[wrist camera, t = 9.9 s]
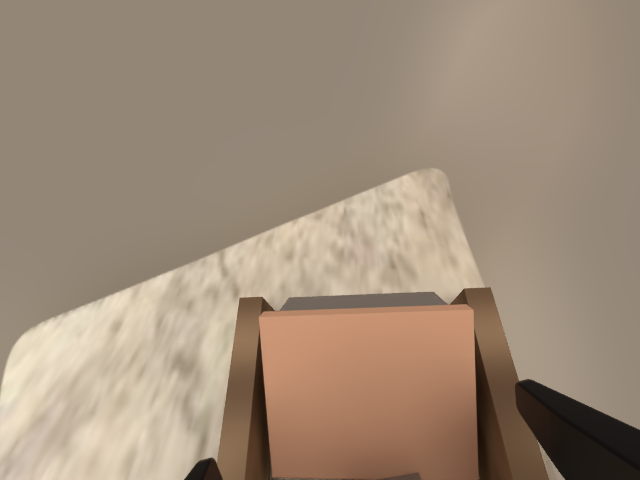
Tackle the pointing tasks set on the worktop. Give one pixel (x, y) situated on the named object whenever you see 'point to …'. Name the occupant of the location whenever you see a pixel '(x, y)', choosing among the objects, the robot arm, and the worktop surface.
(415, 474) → the gray rectangular block
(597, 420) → the robot arm
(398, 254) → the worktop surface
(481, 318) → the brown bracket
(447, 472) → the trapdoor
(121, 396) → the worktop surface
